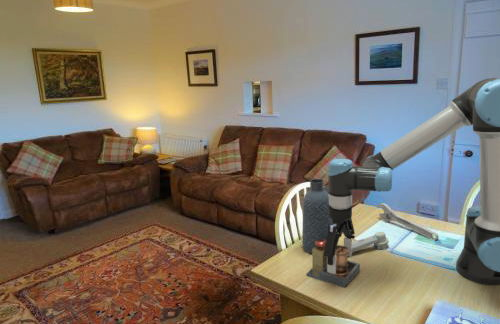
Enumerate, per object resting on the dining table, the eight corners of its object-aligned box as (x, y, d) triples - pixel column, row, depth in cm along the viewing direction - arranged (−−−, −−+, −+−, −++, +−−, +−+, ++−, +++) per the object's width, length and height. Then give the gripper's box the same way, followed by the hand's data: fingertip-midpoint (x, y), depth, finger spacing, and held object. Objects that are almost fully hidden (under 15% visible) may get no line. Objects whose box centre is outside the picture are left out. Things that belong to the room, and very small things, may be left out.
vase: (339, 251, 143) (339, 182, 136) (312, 258, 139) (311, 187, 132) (322, 238, 154) (321, 174, 147) (297, 245, 150) (295, 179, 143)
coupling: (350, 271, 127) (351, 247, 124) (344, 278, 122) (344, 254, 120) (335, 267, 130) (335, 243, 128) (328, 274, 126) (328, 250, 123)
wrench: (434, 247, 148) (375, 217, 172) (437, 246, 149) (378, 216, 173) (437, 230, 145) (377, 201, 169) (440, 228, 146) (380, 201, 170)
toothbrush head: (328, 246, 139) (381, 226, 146) (330, 261, 141) (383, 241, 148) (335, 252, 134) (390, 231, 141) (337, 268, 136) (392, 246, 143)
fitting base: (360, 270, 128) (360, 242, 126) (345, 288, 118) (345, 258, 116) (323, 259, 137) (322, 233, 134) (306, 275, 127) (306, 247, 124)
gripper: (344, 193, 132) (343, 246, 137) (312, 216, 113) (313, 277, 118) (364, 196, 128) (363, 251, 133) (335, 220, 108) (335, 284, 113)
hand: (339, 263), depth 125 cm, fingers open, 13 cm apart
